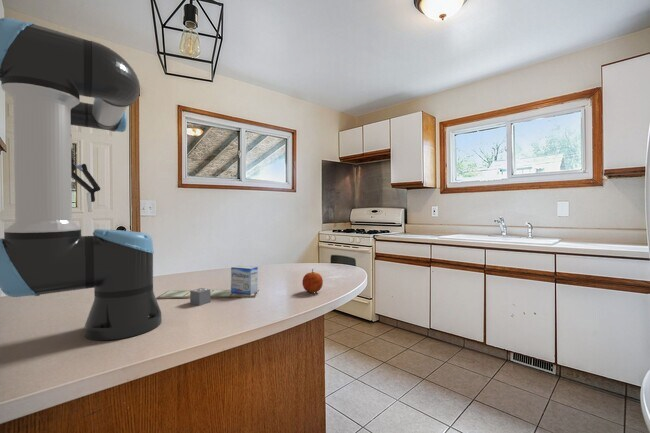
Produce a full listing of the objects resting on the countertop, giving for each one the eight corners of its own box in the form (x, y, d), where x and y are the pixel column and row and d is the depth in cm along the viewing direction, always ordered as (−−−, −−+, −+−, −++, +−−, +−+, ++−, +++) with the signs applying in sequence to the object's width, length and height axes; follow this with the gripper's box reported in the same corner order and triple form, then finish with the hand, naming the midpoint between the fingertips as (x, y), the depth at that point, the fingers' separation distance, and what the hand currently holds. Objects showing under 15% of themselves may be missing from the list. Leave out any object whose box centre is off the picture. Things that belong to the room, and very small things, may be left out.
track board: (259, 289, 106) (259, 288, 106) (255, 297, 97) (255, 296, 97) (168, 291, 103) (168, 290, 103) (155, 299, 94) (155, 297, 94)
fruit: (319, 296, 98) (319, 271, 98) (299, 294, 100) (299, 270, 100) (324, 290, 105) (324, 267, 105) (305, 289, 107) (305, 267, 107)
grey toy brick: (210, 302, 91) (210, 289, 91) (199, 306, 88) (199, 292, 88) (201, 300, 93) (201, 287, 93) (190, 304, 90) (190, 290, 90)
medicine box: (230, 293, 100) (230, 267, 100) (238, 289, 104) (238, 264, 104) (250, 295, 97) (250, 268, 97) (258, 291, 102) (258, 266, 102)
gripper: (102, 154, 110) (108, 211, 111) (3, 147, 93) (10, 216, 93) (106, 149, 105) (112, 209, 105) (2, 142, 88) (9, 214, 88)
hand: (64, 212), depth 99 cm, fingers open, 13 cm apart
